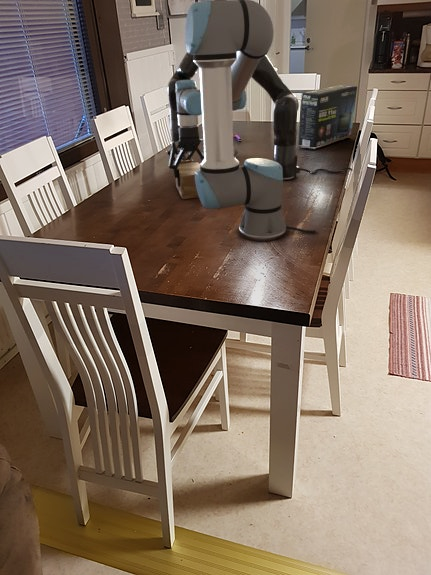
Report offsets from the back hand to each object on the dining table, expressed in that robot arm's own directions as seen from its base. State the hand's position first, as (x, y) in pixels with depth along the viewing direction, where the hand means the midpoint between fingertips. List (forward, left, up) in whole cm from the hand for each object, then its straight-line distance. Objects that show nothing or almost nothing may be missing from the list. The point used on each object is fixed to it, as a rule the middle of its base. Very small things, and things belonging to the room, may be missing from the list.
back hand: (182, 171), depth 201 cm
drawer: (+1, +8, -2) cm, 8 cm away
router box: (-86, -23, -3) cm, 89 cm away
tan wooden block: (+2, +19, -3) cm, 20 cm away
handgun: (-45, -57, -3) cm, 72 cm away
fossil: (-24, -20, -3) cm, 31 cm away
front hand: (+3, +23, +1) cm, 23 cm away
